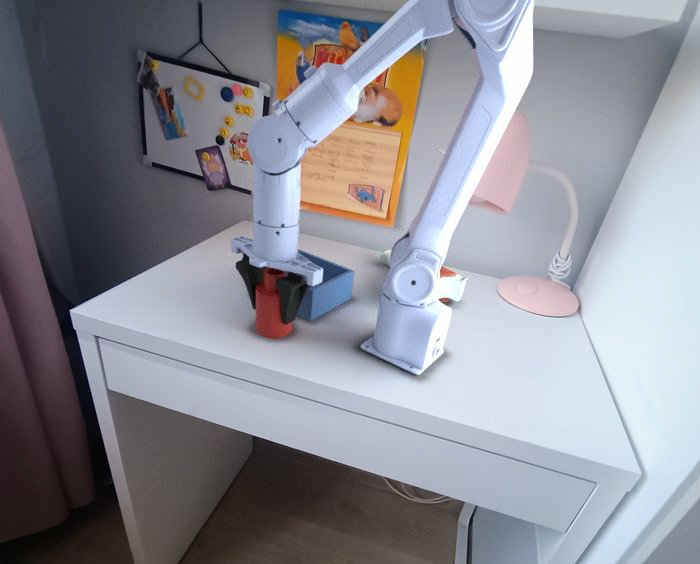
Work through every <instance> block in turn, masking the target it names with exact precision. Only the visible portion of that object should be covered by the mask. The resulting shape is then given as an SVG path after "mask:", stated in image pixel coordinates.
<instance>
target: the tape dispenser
mask: <svg viewBox="0 0 700 564" xmlns="http://www.w3.org/2000/svg"><path fill="white" fill-rule="evenodd" d="M391 251H392V249H387V250H383V251H381V253H380V254H379V258H378V259H379V262H380V263H381V264H383V265H387V266H388V267H390V265H391ZM439 275H440V283H439V287H438V290H437V292H436V298H437V299H438V300H439V301H440V302H441V303H448V302H449V301H450V300H453V301H454V302H458V301H460V299H461V298H462V296H463V294H464V290H465V286H466V282H467V281H468V280H469V279H468V277H466V276H463V275H460V274H459V273H456V272H455V271H452V270H451V269H449V268H446V267H444V266H441V268H440V273H439Z"/></svg>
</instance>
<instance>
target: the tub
mask: <svg viewBox="0 0 700 564" xmlns="http://www.w3.org/2000/svg"><path fill="white" fill-rule="evenodd" d="M297 252H299V253H300V254H301V255H303V256H304V257H305V258H307V259H308V260H309V261H311V262H312V263H314V264H315V265H317V266H319V267H321V268H323V279H322V282H321V283H319V284H317V285H315V286H311V287H310V288H309V290H308V291H307V293H306V295H305V296H304V298H303V300H302V303H301V305H300V308H299V310H298V313H297V316H299V317H302V318H304V319H306V320H308V321H310V322H311V321H313V320H315V319H317V318H318V317H320V316H322V315H325V314H326V313H327V312H330V311H332V310H333V309H335V308H337V307H339V306H340V305H342V304H344V303H346V302H348V301H349V300H352V294H353V293H352V292H353V287H354V279H355V278H354V277H355V270H353V269H351V268H348V267H346V266H343V265H340V264H338V263H335V262H333V261H330V260H328V259H326V258H323V257H320V256H317V255H314V254H313V253H310V252H308V251H305V250H302V249H299V248H298V250H297ZM287 276H288V273H286V277H287Z"/></svg>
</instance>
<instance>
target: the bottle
mask: <svg viewBox="0 0 700 564" xmlns="http://www.w3.org/2000/svg"><path fill="white" fill-rule="evenodd" d="M283 277H286V272H284V271H282V270H279V269H275V268H270V267H269V268H266V269H265V270H264V281H263V282H261V283H258V285H257V286H256V310H255V331H256V333H257V334H258V335H260V336H262V337H264V338H268V339H279V338H285V337H286V336H287V337H288V335H290V334H291V332H292V328H293V322H291V323H289V324H287V325H285V324H283V323H282V318H281V298H280V293H279V290H278V287H277V284H276V280H278V279H281V278H283Z"/></svg>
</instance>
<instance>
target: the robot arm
mask: <svg viewBox="0 0 700 564" xmlns="http://www.w3.org/2000/svg"><path fill="white" fill-rule="evenodd" d="M534 7H535V0H407V1H406V2H405V3H404V4H403V5H402V6H401V7H400V8H399V9H398V10H397V11H396V12H395V13H393V15H391V17H390V18H389V19H388V20H386V22H385V23H383V25H381V26H380V28H378V29H377V30H376V32H374V33H373V34H372V35H371V36H370V37H369V38H368V39H367V40H366V41H365V42H364V43H363V44H362V45H361V46H360V47H359V48H358V49H357V50H356V51H355V52H354V53H353V54H351V56H350V57H348V58H347V59H346V61H344V63H342V64H337V63H333V62H323V63H322V64H321V65H320V66H319V67H317V66H316V65H311V66H309V67H308V68H307V69H306V70H305V71H304V72H303V76H304V77H305V80H304V81H302V83H301V84H299V85H298V86H297V87H296V88H295V89H294V90H293V91H292V92H291V93H290V94H289V95H287V97H285V99H282V98H278V99H277V100H276V101H274V103H272V108H273V109H274V114H271V115H264V116H261V117H259V118H257V119H256V121H255V122H254V125H253V126H252V127H251V129H250V130H249V132H248V135H247V140H246V147H247V152H248V155H249V157H250V159H251V161H252V162H253V183H252V185H253V186H252V189H253V190H252V195H253V196H252V207H253V208H252V214H253V215H252V218H253V220H252V223H253V224H252V225H253V226H252V227H253V231H252V233H253V234H252V235H253V238H250V237H247V236H244V235H239V236H235V237H231V238H230V239H231V240H230V241H231V242H230V245H231V247H230V249H231V253H233V254H236V255H239V254H241V255H242V257H241V260H238V261H236V262H235V269H236V270H237V272H238V273H239V275H240V277H241V279H242V281H243V283H244V285H245V288H246V290H247V293H248V296H249V300H250V304H251V307H252V309H253V310H255V311H256V286H257V285H258V283H261V282H263V281H264V270H265V269H266V268H269V267H270V268H275V269H279V270H282V271H284V272H286V273H288V276H287V277H283V278H281V279H278V280H276V284H277V287H278V290H279V293H280V298H281V318H282V323H283V324H285V325H287V324H289V323H291V322H292V323H293V322H295V321H296V320H297V316H298V315H297V313H298V310H299V308H300V305H301V303H302V300H303V298H304V296H305V295H306V293H307V291H308V290H309V288H310V287H311V286H315V285H317V284H319V283H321V282H322V279H323V268H321V267H319V266H317V265H315V264H314V263H312V262H311V261H309V260H308V259H307V258H305V257H304V256H303V255H301V254H300V253H299V252H297V250H299V248H298V247H299V232H300V231H299V229H300V213H301V211H300V210H301V193H302V192H301V190H302V184H301V174H302V173H301V172H302V162H301V160H303V158H304V157H305V156H306V154H307V152H308V149H309V148H315V147H316V146H318V144H320V143H321V142H322V141H324V140H325V139H326V138H327V137H328V136H329V135H330V134H332V133H333V132H335V130H337V128H339V127H340V126H341V125H342V124H343V123H344V122H346V121H347V120H348V119H350V118H351V117H352V116H353V115H354V114H355V113H356V112H357V111H358V108H359V103H360V102H359V100H360V93H361V91H362V90H363V89H364V88H365V87H366V86H368V85H369V84H370V83H372V82H373V81H374V80H375V79H376V78H377V77H378V76H380V75H381V74H382V73H384V72H385V71H386V70H387V69H388V68H390V67H391V66H392V65H394V63H396V62H398V60H399V59H401V58H402V57H403V56H404V55H405V54H407V53H408V52H409V51H411V49H413V48H414V47H415V46H417V45H418V43H420V42H422V41H423V40H426V39H432V38H437V37H443V36H446V35H450V34H452V33H453V32H454V31H455V28H457V31H459V33H460V34H461V35H462V37H463V38H464V39H465V40H466V43H468V45H469V46H470V52H471V55H472V58H473V61H474V64H475V68H476V70H477V73H478V80H477V82H476V84H475V87H474V89H473V91H472V93H471V95H470V98H469V100H468V102H467V104H466V107H465V109H464V111H463V114H462V116H461V118H460V120H459V122H458V124H457V126H456V129H455V131H454V133H453V135H452V138H451V140H450V141H449V144H448V146H447V149H446V151H445V153H444V155H443V157H442V159H441V162H440V164H439V165H438V168H437V171H436V173H435V175H434V176H433V180H432V182H431V183H430V186H429V188H428V190H427V192H426V195H425V197H424V199H423V202H422V204H421V205H420V208H419V211H418V213H417V214H416V215H415V216H414V218H413V220H412V221H411V223H410V225H409V227H408V228H407V231H406V232H405V233H404V234H403V235H402V236H401V237H400V238H398V239H396V241H395V242H394V244H393V246H392V248H391V250H392V251H391V265H390V266H389V271H388V272H387V277H386V280H385V281H384V282H383V283H382V285H381V293H380V299H379V305H378V311H377V316H376V321H375V328H374V333H373V334H374V335H373V336H372V337H369V338H368V339H367V340H365V341H364V342H363V343H361V344H360V346H359V347H360V349H361V350H363V351H365V352H367V353H369V354H372V355H373V356H375V357H377V358H380V359H382V360H384V361H387V362H388V363H391V364H393V365H395V366H397V367H399V368H401V369H403V370H405V371H407V372H409V373H411V374H413V375H416V376H419V375H421V374H422V373H423V372H424V371H425V370H426V369H427V368H428V367H429V366H431V365H432V363H434V362H435V361H436V360H438V358H439V357H441V356H442V354H444V351H445V350H444V345H445V341H446V337H447V334H448V329H449V326H450V322H451V317H452V308H450V307H449V306H447V305H446V304H444V303H443V302H441V301H439V300H438V299H437V298H436V292H437V290H438V287H439V283H440V275H439V273H440V268H441V266H442V265H443V264H444V262H445V260H446V257H447V253H448V249H449V245H450V241H451V238H452V235H453V233H454V231H455V229H456V227H457V225H458V223H459V221H460V219H461V218H462V215H463V213H464V211H465V210H466V207H467V206H468V204H469V201H470V199H471V198H472V195H473V193H474V191H475V190H476V189H477V185H478V184H479V182H480V180H481V178H482V176H483V174H484V172H485V170H486V168H487V166H488V164H489V162H490V160H491V158H492V156H493V154H494V152H495V150H496V148H497V146H498V144H499V143H500V140H501V139H502V136H503V135H504V133H505V130H506V128H507V127H508V125H509V122H510V121H511V119H512V117H513V115H514V113H515V111H516V109H517V107H518V105H519V104H520V101H521V100H522V97H523V95H524V93H525V91H526V89H527V87H528V85H529V83H530V81H531V79H532V77H533V72H534V25H533V24H534V21H533V20H534ZM454 26H455V28H454ZM442 267H443V266H442Z"/></svg>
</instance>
